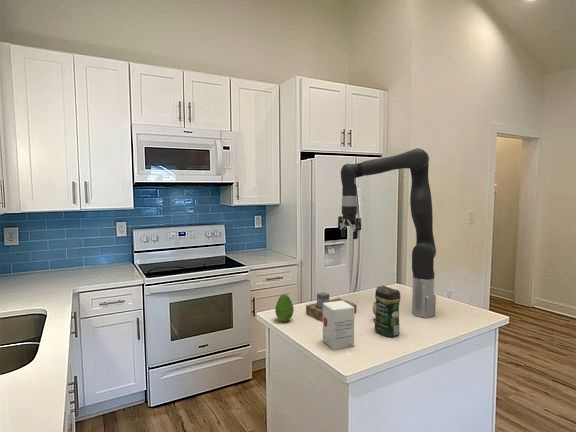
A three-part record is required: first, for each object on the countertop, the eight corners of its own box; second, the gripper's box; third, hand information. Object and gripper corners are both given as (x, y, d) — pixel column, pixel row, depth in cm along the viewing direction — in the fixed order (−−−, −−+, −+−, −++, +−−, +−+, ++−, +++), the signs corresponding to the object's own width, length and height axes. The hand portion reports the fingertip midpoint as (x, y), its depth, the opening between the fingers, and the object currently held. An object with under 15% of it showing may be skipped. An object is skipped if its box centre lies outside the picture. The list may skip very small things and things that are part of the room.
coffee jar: (371, 330, 153) (371, 286, 151) (385, 327, 157) (385, 283, 155) (388, 339, 145) (389, 291, 143) (403, 334, 149) (404, 288, 147)
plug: (329, 315, 171) (329, 294, 170) (322, 317, 168) (322, 295, 168) (323, 313, 174) (323, 292, 173) (316, 315, 172) (316, 293, 171)
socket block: (356, 313, 174) (356, 303, 174) (322, 321, 163) (322, 311, 163) (339, 306, 184) (339, 297, 184) (306, 313, 173) (306, 304, 173)
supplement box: (321, 340, 143) (322, 302, 142) (342, 337, 147) (342, 299, 145) (333, 350, 135) (333, 309, 134) (354, 346, 138) (355, 306, 137)
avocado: (279, 325, 159) (279, 297, 158) (273, 319, 167) (272, 292, 166) (296, 322, 162) (296, 295, 161) (289, 316, 170) (289, 290, 169)
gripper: (365, 205, 179) (365, 239, 181) (345, 204, 191) (345, 235, 193) (353, 206, 175) (353, 240, 177) (334, 204, 187) (333, 237, 189)
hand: (349, 238), depth 185 cm, fingers open, 8 cm apart
